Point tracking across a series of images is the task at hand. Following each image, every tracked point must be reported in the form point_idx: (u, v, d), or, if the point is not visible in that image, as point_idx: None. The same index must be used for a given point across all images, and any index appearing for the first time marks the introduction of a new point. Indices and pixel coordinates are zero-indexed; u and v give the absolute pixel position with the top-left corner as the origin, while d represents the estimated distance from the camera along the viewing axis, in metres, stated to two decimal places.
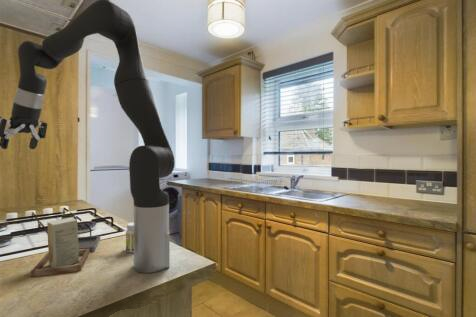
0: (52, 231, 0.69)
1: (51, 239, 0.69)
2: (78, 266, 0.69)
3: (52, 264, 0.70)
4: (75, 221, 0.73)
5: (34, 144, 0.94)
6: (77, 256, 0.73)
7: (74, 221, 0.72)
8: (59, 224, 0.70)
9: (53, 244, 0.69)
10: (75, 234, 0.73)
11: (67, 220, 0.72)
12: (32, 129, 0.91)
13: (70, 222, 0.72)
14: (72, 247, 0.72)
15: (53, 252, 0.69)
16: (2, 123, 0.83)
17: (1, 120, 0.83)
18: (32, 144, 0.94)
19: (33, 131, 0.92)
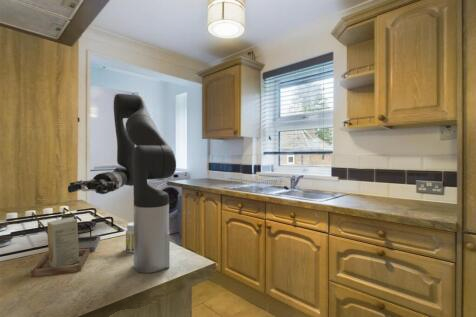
0: (52, 231, 0.69)
1: (51, 239, 0.69)
2: (78, 266, 0.69)
3: (52, 264, 0.70)
4: (75, 221, 0.73)
5: (100, 185, 0.84)
6: (77, 256, 0.73)
7: (74, 221, 0.72)
8: (59, 224, 0.70)
9: (53, 244, 0.69)
10: (75, 234, 0.73)
11: (67, 220, 0.72)
12: (102, 180, 0.90)
13: (70, 222, 0.72)
14: (72, 247, 0.72)
15: (53, 252, 0.69)
16: None
17: None
18: None
19: (102, 181, 0.89)
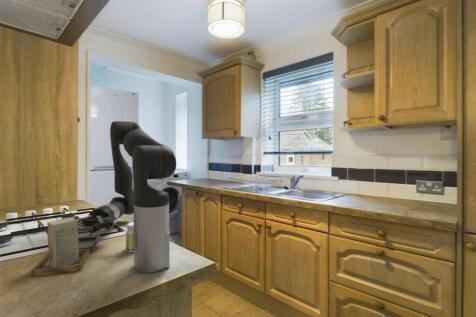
0: (52, 231, 0.69)
1: (51, 239, 0.69)
2: (78, 266, 0.69)
3: (52, 264, 0.70)
4: (75, 221, 0.73)
5: (96, 224, 0.82)
6: (77, 256, 0.73)
7: (74, 221, 0.72)
8: (59, 224, 0.70)
9: (53, 244, 0.69)
10: (75, 234, 0.73)
11: (67, 220, 0.72)
12: (98, 217, 0.87)
13: (70, 222, 0.72)
14: (72, 247, 0.72)
15: (53, 252, 0.69)
16: (74, 217, 0.88)
17: None
18: None
19: (98, 218, 0.87)
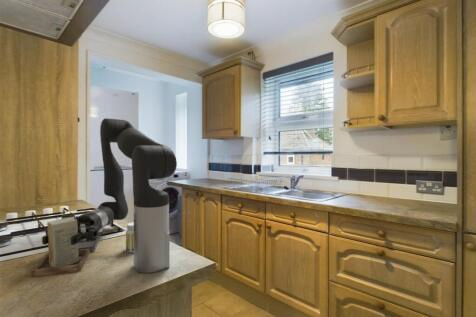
0: (52, 231, 0.69)
1: (51, 239, 0.69)
2: (78, 266, 0.69)
3: (52, 264, 0.70)
4: (75, 221, 0.73)
5: (76, 234, 0.72)
6: (77, 256, 0.73)
7: (74, 221, 0.72)
8: (59, 224, 0.70)
9: (53, 244, 0.69)
10: (75, 234, 0.73)
11: (67, 220, 0.72)
12: (82, 225, 0.78)
13: (70, 222, 0.72)
14: (72, 246, 0.72)
15: (53, 252, 0.69)
16: None
17: None
18: None
19: (82, 226, 0.77)
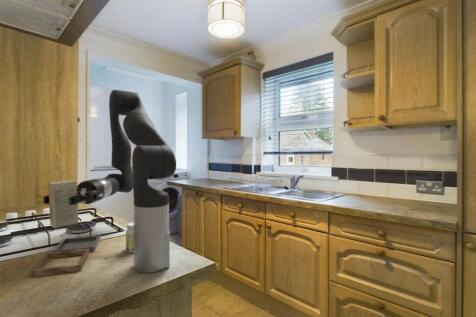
0: (51, 190, 0.70)
1: (50, 198, 0.71)
2: (78, 266, 0.69)
3: (52, 223, 0.71)
4: (74, 183, 0.74)
5: (75, 196, 0.73)
6: (76, 217, 0.75)
7: (73, 182, 0.74)
8: (58, 183, 0.71)
9: (52, 203, 0.71)
10: (74, 195, 0.74)
11: (67, 181, 0.74)
12: (83, 189, 0.80)
13: (69, 183, 0.73)
14: (72, 207, 0.74)
15: (52, 211, 0.71)
16: None
17: None
18: None
19: (82, 190, 0.79)
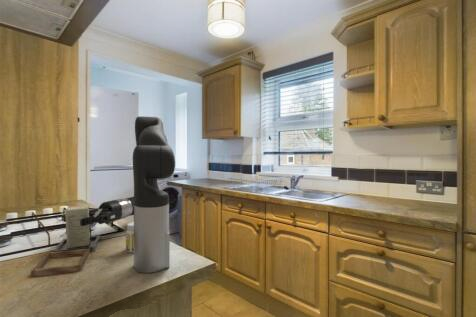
0: (65, 215, 0.81)
1: (66, 222, 0.82)
2: (78, 266, 0.69)
3: (67, 243, 0.83)
4: (85, 209, 0.83)
5: None
6: (87, 240, 0.84)
7: (85, 209, 0.83)
8: (71, 210, 0.82)
9: (66, 226, 0.82)
10: None
11: (80, 207, 0.84)
12: (99, 210, 0.89)
13: (81, 209, 0.83)
14: (83, 231, 0.83)
15: (66, 233, 0.82)
16: None
17: None
18: None
19: (98, 211, 0.88)
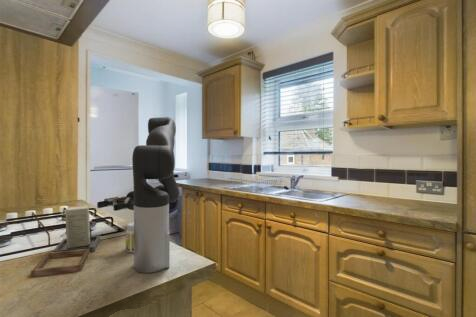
0: (65, 215, 0.81)
1: (66, 222, 0.82)
2: (78, 266, 0.69)
3: (67, 243, 0.83)
4: (85, 209, 0.83)
5: (118, 203, 0.93)
6: (87, 240, 0.84)
7: (85, 209, 0.83)
8: (71, 210, 0.82)
9: (66, 226, 0.82)
10: (85, 220, 0.84)
11: (80, 207, 0.84)
12: (127, 198, 0.99)
13: (81, 209, 0.83)
14: (83, 231, 0.83)
15: (66, 233, 0.82)
16: None
17: None
18: None
19: (127, 199, 0.98)
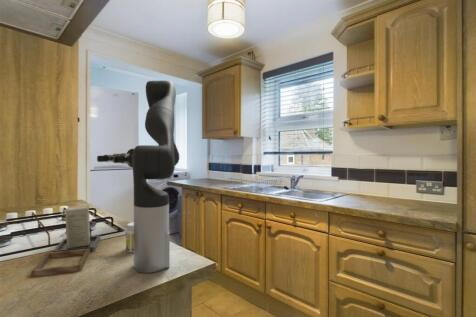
0: (65, 215, 0.81)
1: (66, 222, 0.82)
2: (78, 266, 0.69)
3: (67, 243, 0.83)
4: (85, 209, 0.83)
5: (118, 156, 0.92)
6: (87, 240, 0.84)
7: (85, 209, 0.83)
8: (71, 210, 0.82)
9: (66, 226, 0.82)
10: (85, 220, 0.84)
11: (80, 207, 0.84)
12: (127, 154, 0.99)
13: (81, 209, 0.83)
14: (83, 231, 0.83)
15: (66, 233, 0.82)
16: None
17: None
18: None
19: None
